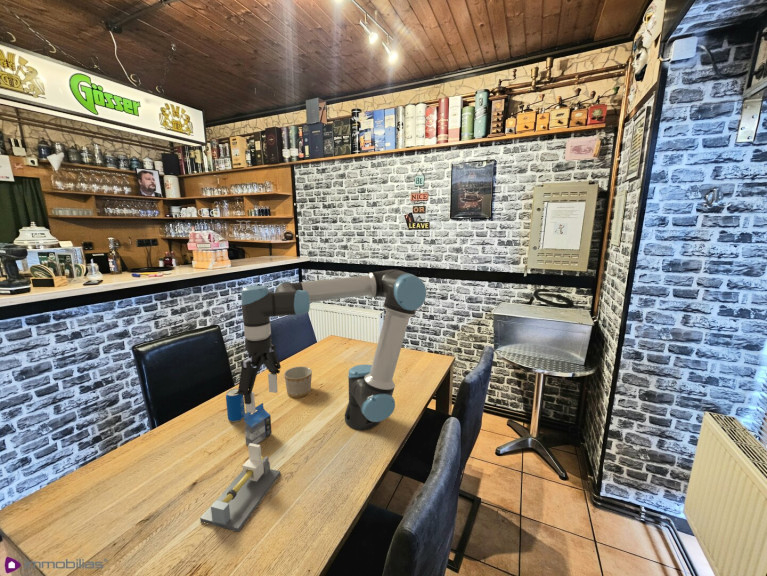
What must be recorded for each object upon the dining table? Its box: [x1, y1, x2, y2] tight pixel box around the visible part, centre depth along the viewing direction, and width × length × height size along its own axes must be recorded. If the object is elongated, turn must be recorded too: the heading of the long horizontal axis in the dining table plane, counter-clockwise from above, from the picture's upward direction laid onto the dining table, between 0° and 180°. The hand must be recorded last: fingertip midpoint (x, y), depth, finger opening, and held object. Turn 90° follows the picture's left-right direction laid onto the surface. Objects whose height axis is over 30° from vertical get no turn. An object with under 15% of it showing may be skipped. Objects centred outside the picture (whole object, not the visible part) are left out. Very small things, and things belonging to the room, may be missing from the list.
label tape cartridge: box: [243, 403, 273, 446], centre depth 116 cm, size 9×4×12 cm, turn 151°
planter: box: [283, 366, 313, 399], centre depth 149 cm, size 13×13×10 cm
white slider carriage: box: [242, 443, 264, 481], centre depth 97 cm, size 5×4×10 cm
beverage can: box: [225, 387, 246, 423], centre depth 129 cm, size 6×6×12 cm
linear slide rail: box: [199, 456, 281, 533], centre depth 93 cm, size 12×20×6 cm, turn 166°
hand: (262, 401), depth 100 cm, fingers open, 11 cm apart
